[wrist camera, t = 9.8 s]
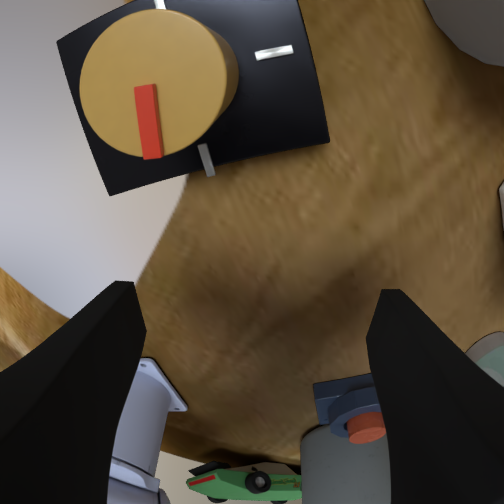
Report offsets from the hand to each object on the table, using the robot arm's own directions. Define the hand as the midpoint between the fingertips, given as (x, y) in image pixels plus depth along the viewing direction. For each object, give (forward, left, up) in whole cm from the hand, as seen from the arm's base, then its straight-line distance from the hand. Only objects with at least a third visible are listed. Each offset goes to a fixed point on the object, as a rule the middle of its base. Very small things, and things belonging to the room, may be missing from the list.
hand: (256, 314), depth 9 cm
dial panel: (-1, +7, -9) cm, 11 cm away
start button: (+5, -20, -6) cm, 21 cm away
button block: (+5, -20, -9) cm, 22 cm away
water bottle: (+3, -29, -9) cm, 30 cm away
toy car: (-8, -38, -3) cm, 39 cm away
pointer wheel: (-1, +7, -6) cm, 9 cm away
